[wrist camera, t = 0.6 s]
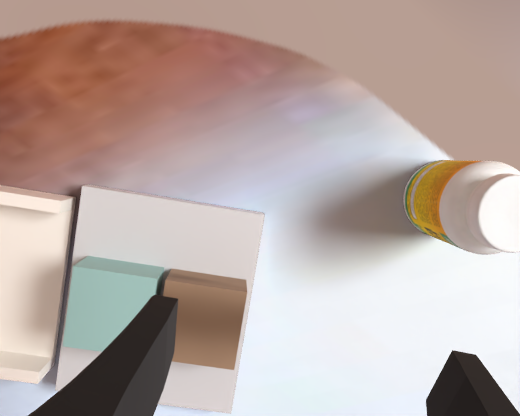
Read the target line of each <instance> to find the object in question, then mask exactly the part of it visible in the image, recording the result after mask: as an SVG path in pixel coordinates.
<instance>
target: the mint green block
mask: <svg viewBox="0 0 520 416" xmlns="http://www.w3.org/2000/svg"><path fill="white" fill-rule="evenodd" d="M164 268H165V267H159V266H153V265H146V264H139V263H133V262H126V261H120V260H113V259H106V258H100V257H93V256H87V257H86V258H85V259H83V260H82V261H80V262H79V263H77V264H76V265H74V266H73V270H72V278H71V286H70V293H69V301H68V308H67V316H66V324H65V331H64V339H63V346H64V347H71V348H78V349H85V350H92V351H100V352H103V351H104V349H105V348H106V347H107V346H108V345H109V344H110V343H111V342H112V341H113V340H114V339H115V338H116V337H117V336H118V335H119V334H120V333H121V332H122V331H123V330H124V329H125V327H126V326H127V325H128V324H129V323H130V322H131V321H132V320H133V319H134V317H135V316H136V315H137V314H138V313H139V311H140V310H141V309H142V308H143V307H144V305H145V304H146V303H147V302H148V300H149V299H150V298H151V297H152V296H154V295H155V294H156V295H160V294H161V287H162V281H163V274H164Z"/></svg>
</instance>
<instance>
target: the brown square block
mask: <svg viewBox="0 0 520 416" xmlns="http://www.w3.org/2000/svg"><path fill="white" fill-rule="evenodd" d="M163 296H166V297H172V298H177V299H178V310H177V323H176V336H175V350H174V355H173V359H172V362H179V363H186V364H193V365H200V366H208V367H215V368H222V369H229V370H234V368H235V362H236V356H237V350H238V344H239V339H240V333H241V327H242V321H243V315H244V309H245V303H246V297H247V282H246V280H245V279H238V278H231V277H225V276H218V275H212V274H205V273H199V272H192V271H185V270H179V269H171V271H170V273H169V275H168V276H167V278H166V280H165V286H164V293H163Z"/></svg>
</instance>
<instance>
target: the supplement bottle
mask: <svg viewBox="0 0 520 416" xmlns="http://www.w3.org/2000/svg"><path fill="white" fill-rule="evenodd" d="M403 205H404V209H405V212H406V214H407V216H408V218H409V220H410V221H411V223H412V224H413V225H414V226H415V227H416V228H417V229H418V230H420V231H421V232H423V233H425V234H428V235H430V236H433V237H435V238H437V239H440V240H442V241H444V242H447V243H449V244H452V245H454V246H456V247H459V248H461V249H463V250H466V251H468V252H472V253H476V254H496V253H499V252H510V253H515V252H520V172H519V171H518V170H516V169H515V168H513V167H512V166H509V165H507V164H504V163H501V162H495V161H459V160H439V161H434V162H430V163H428V164H426V165H424V166H423V167H421V168H420V169H418V170H417V171H416V172H415V173H414V174H413V175H412V176H411V178H410V179H409V181H408V183H407V185H406V187H405V191H404V197H403Z"/></svg>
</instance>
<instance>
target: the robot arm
mask: <svg viewBox="0 0 520 416" xmlns="http://www.w3.org/2000/svg"><path fill="white" fill-rule="evenodd" d="M177 310H178V299H177V298H172V297H166V296H161V295H156V294H155V295H154V296H152V297H151V298H150V299H149V300H148V302H147V303H146V304H145V305H144V307H143V308H142V309H141V310H140V311H139V313H138V314H137V315H136V316H135V317H134V319H133V320H132V321H131V322H130V323H129V324H128V325H127V326H126V327H125V329H124V330H123V331H122V332H121V333H120V334H119V335H118V336H117V337H116V338H115V339H114V340H113V341H112V342H111V343H110V344H109V345H108V346H107V347H106V348H105V349H104V351H103V352H102V353H101V354H99V355H98V356H97V357H96V358H95V359H94V360H93V361H92V362H91V363H90V364H89V365H88V366H87V367H86V368H85V369H83V370H82V371H81V372H80V373H79V374H78V375H77V376H76V377H75V378H74V379H73V380H71V381H70V382H69V383H68V384H67V385H66V386H65V387H63V388H62V389H61V390H60V391H59V392H57V393H56V394H55V395H54V396H53V397H51V398H50V399H49V400H48V401H46V402H45V403H44V404H43V405H41V406H40V407H39V408H38V409H36V410H35V411H34V412H32V413H31V414H29V415H28V416H153V414H154V412H155V409H156V407H157V404H158V402H159V400H160V397H161V395H162V392H163V390H164V386H165V383H166V380H167V376H168V373H169V369H170V366H171V362H172V359H173V355H174V350H175V336H176V323H177ZM426 406H427V416H520V414H519V413H518V411H517V410H516V409H515V407H514V406H513V405H512V403H511V402H510V401H509V399H508V398H507V396H506V395H505V394H504V392H503V391H502V390H501V388H500V387H499V386H498V384H497V383H496V381H495V380H494V379H493V377H492V376H491V375H490V373H489V372H488V370H487V369H486V368H485V366H484V365H483V364H482V362H481V361H480V360H479V358H478V357H477V356H476V355H474V354H468V353H463V352H458V351H452V352H451V354H450V356H449V358H448V360H447V362H446V363H445V365H444V367H443V369H442V371H441V373H440V375H439V377H438V379H437V380H436V382H435V384H434V386H433V388H432V390H431V392H430V394H429V396H428V398H427V399H426Z"/></svg>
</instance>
